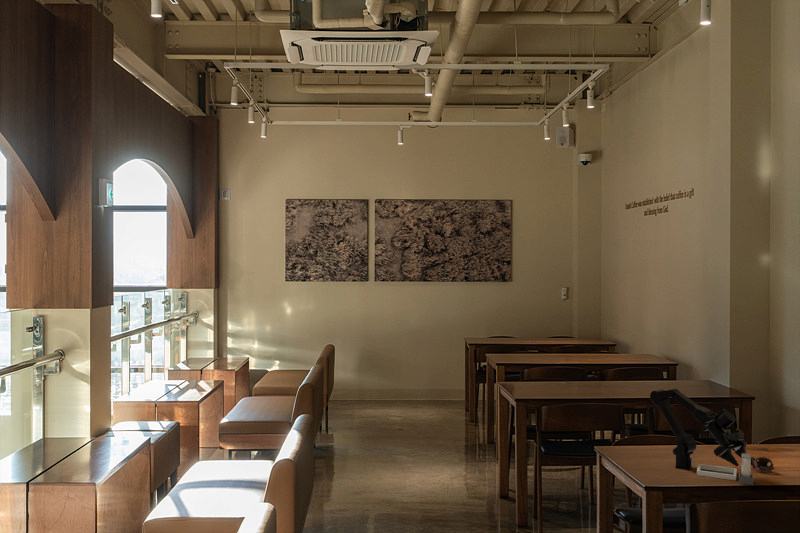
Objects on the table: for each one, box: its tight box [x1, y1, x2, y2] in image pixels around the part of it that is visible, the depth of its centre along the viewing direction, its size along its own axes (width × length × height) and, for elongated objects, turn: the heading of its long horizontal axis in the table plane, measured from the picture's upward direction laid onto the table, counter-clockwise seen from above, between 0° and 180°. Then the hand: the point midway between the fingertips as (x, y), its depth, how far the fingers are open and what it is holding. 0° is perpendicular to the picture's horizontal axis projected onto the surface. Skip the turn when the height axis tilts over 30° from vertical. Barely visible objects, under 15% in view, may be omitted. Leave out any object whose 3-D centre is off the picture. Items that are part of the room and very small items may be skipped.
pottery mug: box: [751, 456, 775, 474], centre depth 316 cm, size 12×10×8 cm
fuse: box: [740, 452, 752, 478], centre depth 298 cm, size 4×4×12 cm
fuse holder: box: [738, 472, 754, 486], centre depth 298 cm, size 6×6×4 cm
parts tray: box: [696, 463, 738, 481], centre depth 309 cm, size 16×12×3 cm
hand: (743, 464), depth 299 cm, fingers open, 9 cm apart
